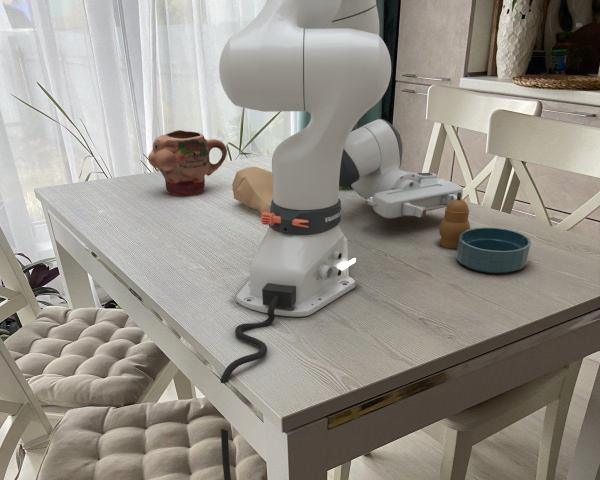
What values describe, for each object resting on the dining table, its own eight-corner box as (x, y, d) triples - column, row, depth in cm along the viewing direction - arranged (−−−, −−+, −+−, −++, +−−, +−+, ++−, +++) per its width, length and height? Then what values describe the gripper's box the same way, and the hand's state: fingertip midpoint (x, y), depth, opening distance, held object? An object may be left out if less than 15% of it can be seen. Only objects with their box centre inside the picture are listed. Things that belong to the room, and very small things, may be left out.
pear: (463, 251, 121) (471, 198, 115) (434, 246, 123) (440, 194, 117) (470, 241, 125) (478, 189, 119) (442, 237, 128) (448, 186, 122)
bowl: (519, 280, 109) (524, 256, 107) (448, 268, 114) (451, 245, 111) (531, 255, 119) (536, 233, 116) (465, 245, 124) (468, 223, 121)
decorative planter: (220, 180, 167) (216, 125, 159) (236, 191, 158) (232, 133, 150) (148, 189, 160) (140, 132, 152) (160, 202, 151) (152, 142, 143)
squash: (265, 197, 154) (271, 161, 149) (296, 231, 140) (303, 192, 135) (224, 195, 149) (229, 157, 144) (252, 230, 136) (258, 190, 130)
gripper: (362, 184, 128) (401, 201, 118) (438, 171, 136) (481, 186, 126) (361, 214, 132) (399, 233, 122) (435, 200, 140) (477, 216, 130)
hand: (442, 209), depth 124 cm, fingers open, 8 cm apart
